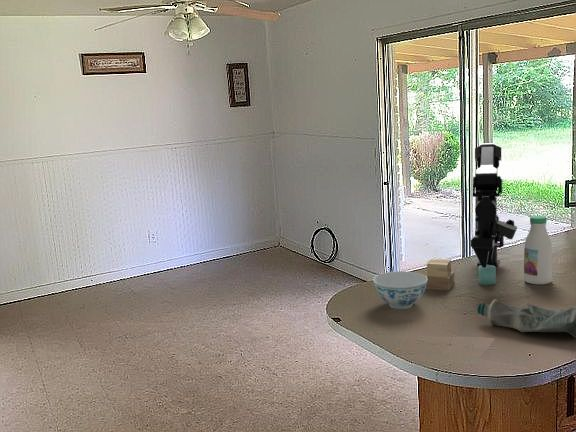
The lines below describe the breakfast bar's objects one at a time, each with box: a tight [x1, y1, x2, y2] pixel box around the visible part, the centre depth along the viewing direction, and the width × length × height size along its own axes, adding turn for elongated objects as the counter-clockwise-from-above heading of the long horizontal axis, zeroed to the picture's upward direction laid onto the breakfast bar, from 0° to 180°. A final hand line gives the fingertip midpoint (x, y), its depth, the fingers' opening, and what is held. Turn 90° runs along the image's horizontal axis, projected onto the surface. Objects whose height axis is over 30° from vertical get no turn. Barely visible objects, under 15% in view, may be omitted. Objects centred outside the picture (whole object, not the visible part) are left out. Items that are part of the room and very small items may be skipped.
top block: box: [426, 257, 452, 278], centre depth 186 cm, size 6×6×4 cm
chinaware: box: [372, 270, 428, 310], centre depth 171 cm, size 15×15×8 cm
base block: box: [425, 271, 455, 292], centre depth 186 cm, size 8×8×4 cm
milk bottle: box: [523, 215, 553, 285], centre depth 183 cm, size 8×8×20 cm
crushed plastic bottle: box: [477, 298, 576, 339], centre depth 149 cm, size 13×7×25 cm
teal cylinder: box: [477, 265, 497, 286], centre depth 186 cm, size 5×5×5 cm
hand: (486, 263), depth 186 cm, fingers open, 9 cm apart
